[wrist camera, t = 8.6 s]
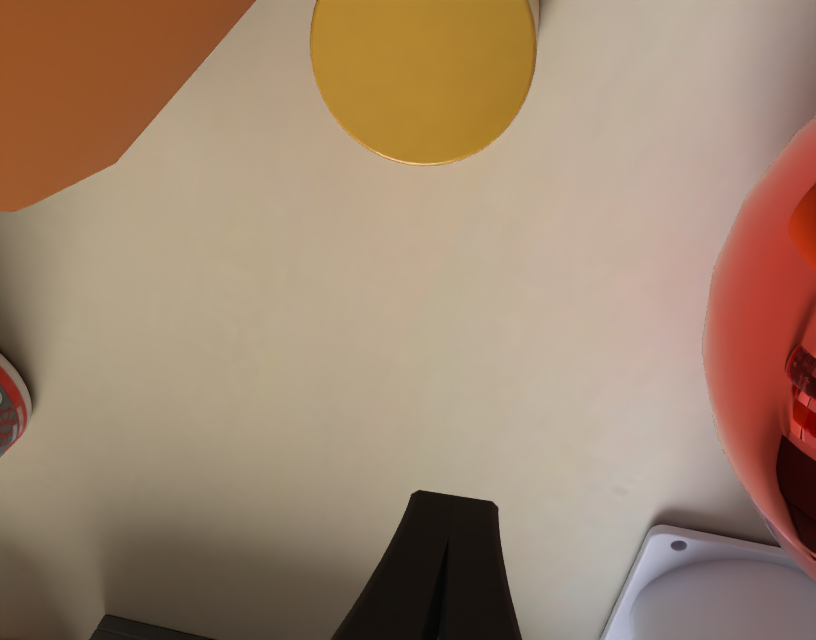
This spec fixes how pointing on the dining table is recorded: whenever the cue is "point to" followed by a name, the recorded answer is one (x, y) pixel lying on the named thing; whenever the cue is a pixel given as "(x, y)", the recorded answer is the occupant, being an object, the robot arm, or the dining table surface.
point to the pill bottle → (12, 405)
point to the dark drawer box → (135, 631)
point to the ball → (770, 347)
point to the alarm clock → (91, 81)
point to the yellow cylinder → (424, 72)
